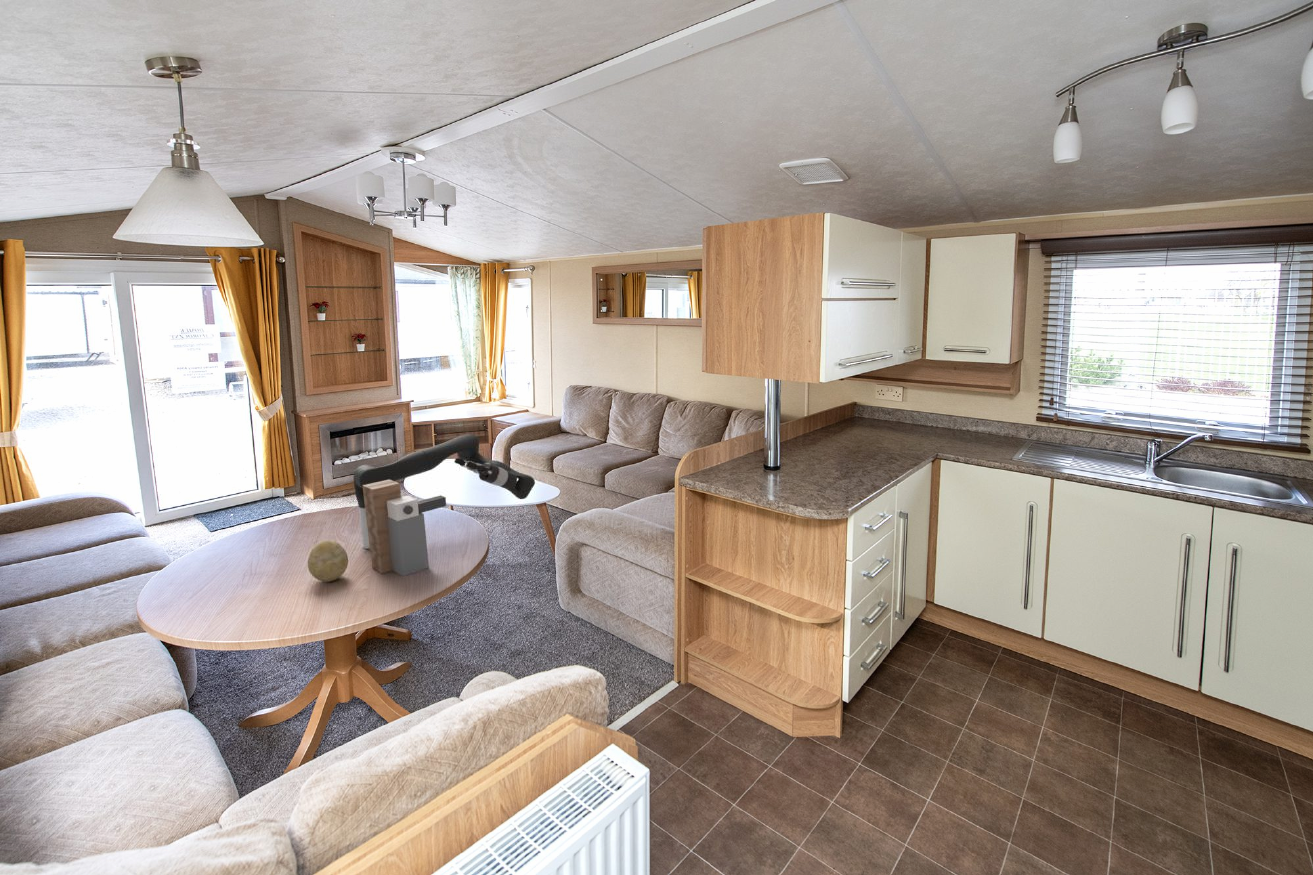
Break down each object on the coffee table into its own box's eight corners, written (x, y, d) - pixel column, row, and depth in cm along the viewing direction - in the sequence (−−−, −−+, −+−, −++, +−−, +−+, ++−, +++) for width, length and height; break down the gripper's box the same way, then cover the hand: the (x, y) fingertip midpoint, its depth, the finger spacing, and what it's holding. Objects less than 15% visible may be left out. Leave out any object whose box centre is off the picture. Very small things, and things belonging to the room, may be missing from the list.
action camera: (387, 516, 227) (385, 500, 226) (438, 502, 242) (436, 487, 240) (399, 521, 221) (397, 505, 220) (450, 507, 236) (449, 492, 235)
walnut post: (372, 567, 234) (362, 485, 227) (398, 559, 241) (389, 479, 235) (382, 573, 229) (372, 489, 222) (408, 565, 236) (399, 483, 229)
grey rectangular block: (392, 570, 232) (386, 516, 227) (418, 561, 239) (412, 509, 235) (403, 576, 227) (397, 521, 222) (428, 567, 234) (423, 513, 229)
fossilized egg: (357, 576, 227) (353, 537, 223) (324, 590, 216) (318, 550, 213) (336, 569, 233) (331, 531, 230) (302, 582, 222) (297, 543, 219)
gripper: (487, 463, 260) (455, 449, 248) (507, 469, 250) (475, 455, 238) (480, 480, 258) (447, 467, 246) (500, 486, 249) (467, 474, 237)
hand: (461, 461), depth 242 cm, fingers open, 8 cm apart
